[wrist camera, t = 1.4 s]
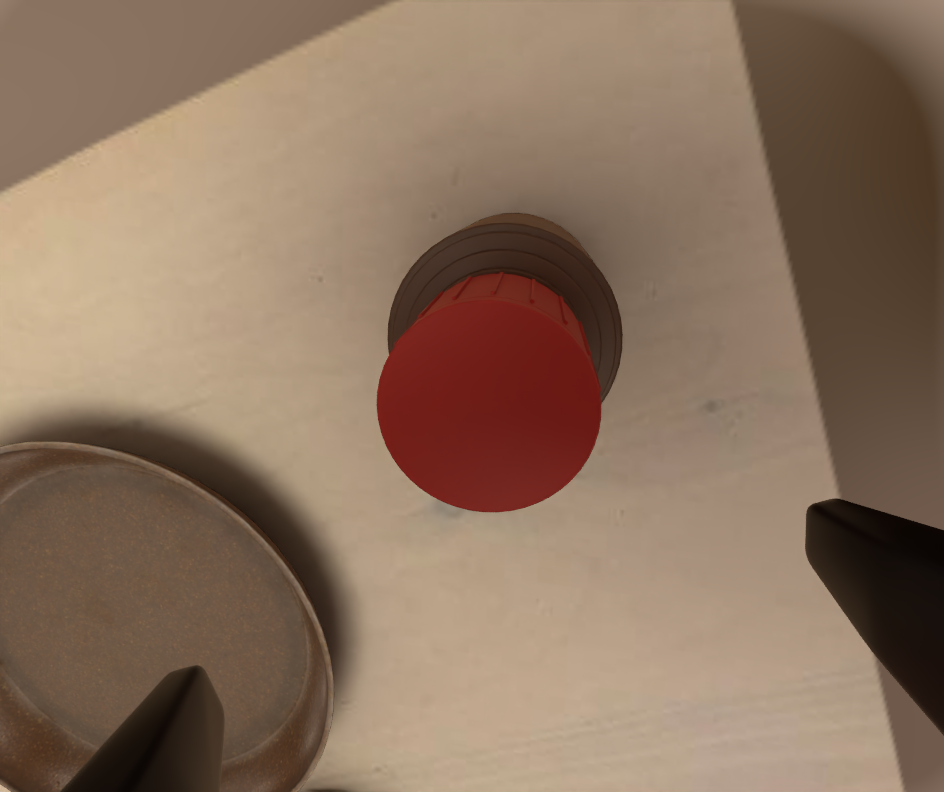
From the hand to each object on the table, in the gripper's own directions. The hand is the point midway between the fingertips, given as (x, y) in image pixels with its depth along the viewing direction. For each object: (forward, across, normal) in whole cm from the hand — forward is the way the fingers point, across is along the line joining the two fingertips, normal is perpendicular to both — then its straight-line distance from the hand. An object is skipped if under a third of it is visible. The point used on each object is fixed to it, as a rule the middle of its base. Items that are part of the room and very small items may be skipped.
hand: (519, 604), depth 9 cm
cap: (+7, -1, -1) cm, 7 cm away
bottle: (+16, -3, 0) cm, 16 cm away
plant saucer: (+19, +16, +12) cm, 28 cm away
